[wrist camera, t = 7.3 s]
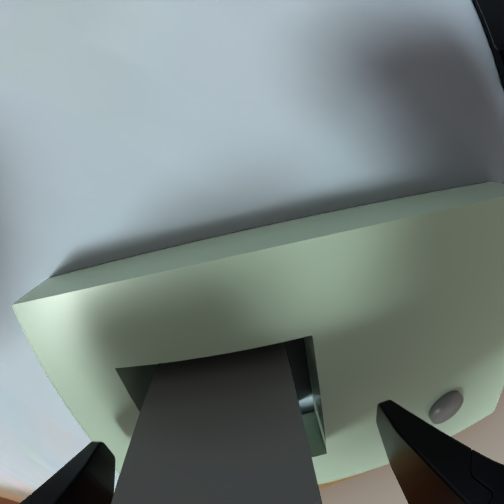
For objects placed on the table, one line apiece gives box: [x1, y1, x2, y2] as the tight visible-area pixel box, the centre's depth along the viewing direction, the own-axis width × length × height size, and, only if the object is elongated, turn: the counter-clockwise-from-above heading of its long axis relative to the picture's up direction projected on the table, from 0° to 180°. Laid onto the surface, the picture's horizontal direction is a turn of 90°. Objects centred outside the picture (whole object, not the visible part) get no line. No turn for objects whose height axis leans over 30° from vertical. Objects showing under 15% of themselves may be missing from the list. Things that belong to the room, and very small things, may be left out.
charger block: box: [111, 342, 322, 504], centre depth 8 cm, size 4×4×7 cm
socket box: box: [12, 181, 504, 485], centre depth 10 cm, size 18×11×3 cm, turn 102°
